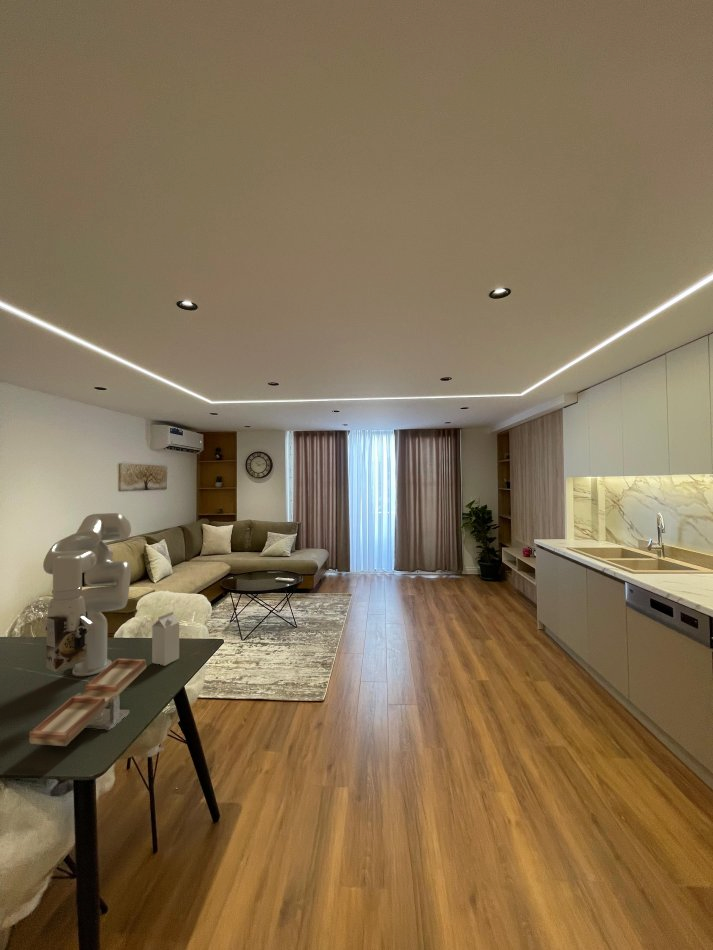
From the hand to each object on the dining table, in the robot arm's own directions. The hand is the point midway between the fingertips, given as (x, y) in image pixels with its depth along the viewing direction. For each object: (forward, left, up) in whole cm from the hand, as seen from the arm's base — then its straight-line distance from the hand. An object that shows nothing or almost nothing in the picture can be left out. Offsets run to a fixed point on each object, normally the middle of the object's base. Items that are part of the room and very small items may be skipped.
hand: (67, 647), depth 121 cm
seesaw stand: (+14, -5, -20) cm, 25 cm away
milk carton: (+11, +34, -20) cm, 41 cm away
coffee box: (0, 0, -6) cm, 5 cm away
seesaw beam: (+14, -5, -14) cm, 20 cm away
